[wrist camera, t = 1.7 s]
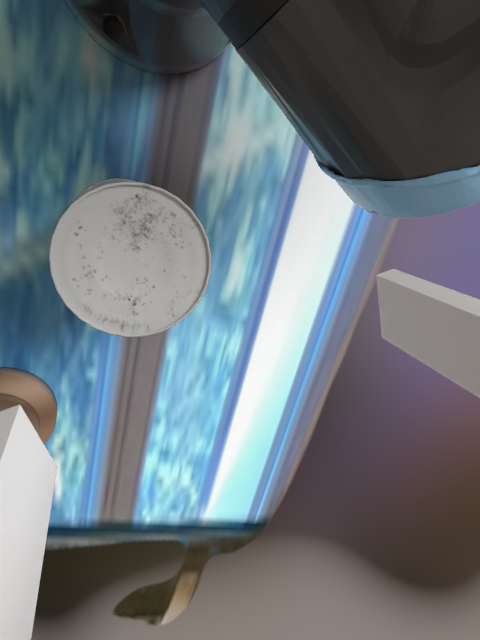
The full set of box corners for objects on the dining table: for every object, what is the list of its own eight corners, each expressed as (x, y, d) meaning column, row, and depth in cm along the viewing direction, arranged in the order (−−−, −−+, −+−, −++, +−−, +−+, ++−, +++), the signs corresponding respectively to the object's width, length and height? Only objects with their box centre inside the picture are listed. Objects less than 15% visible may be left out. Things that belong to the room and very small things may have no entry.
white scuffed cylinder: (198, 237, 37) (240, 264, 26) (125, 308, 37) (137, 364, 26) (121, 153, 33) (133, 143, 22) (39, 233, 33) (9, 264, 22)
